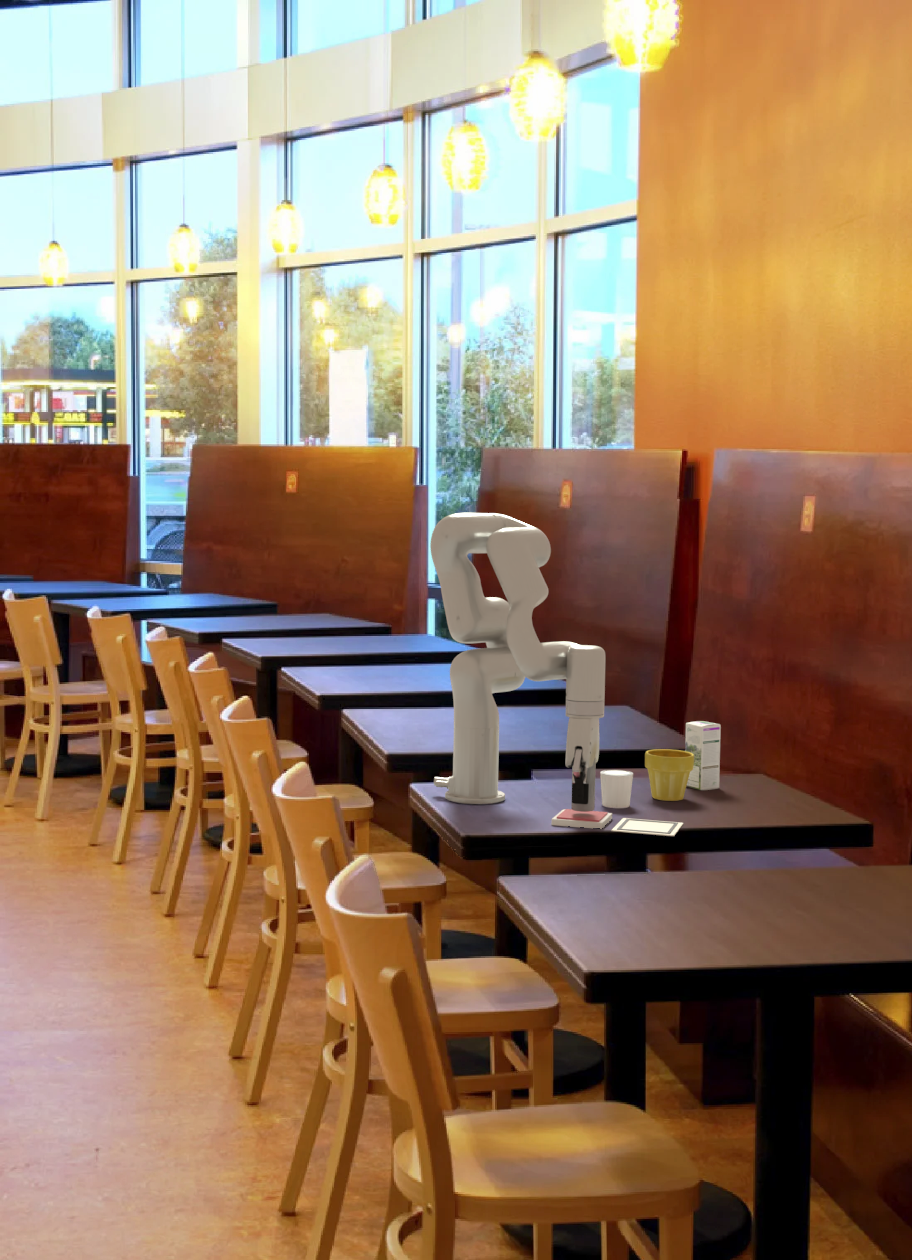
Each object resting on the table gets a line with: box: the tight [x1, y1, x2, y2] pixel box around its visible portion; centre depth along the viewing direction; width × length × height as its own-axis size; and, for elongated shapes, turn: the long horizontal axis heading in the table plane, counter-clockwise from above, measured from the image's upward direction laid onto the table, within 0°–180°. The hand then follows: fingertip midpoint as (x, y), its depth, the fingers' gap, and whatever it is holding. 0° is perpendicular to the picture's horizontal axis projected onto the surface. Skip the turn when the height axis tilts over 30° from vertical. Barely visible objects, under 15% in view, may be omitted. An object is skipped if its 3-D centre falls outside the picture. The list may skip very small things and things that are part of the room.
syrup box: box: [684, 720, 722, 791], centre depth 339 cm, size 6×6×14 cm
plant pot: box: [644, 748, 694, 802], centre depth 326 cm, size 10×10×10 cm
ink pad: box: [550, 808, 613, 830], centre depth 300 cm, size 10×10×2 cm
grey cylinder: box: [570, 758, 597, 812], centre depth 300 cm, size 4×4×10 cm
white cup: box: [599, 769, 634, 809], centre depth 318 cm, size 7×7×7 cm
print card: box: [610, 817, 684, 837], centre depth 297 cm, size 12×12×1 cm
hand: (582, 800), depth 300 cm, fingers closed on grey cylinder, 4 cm apart
